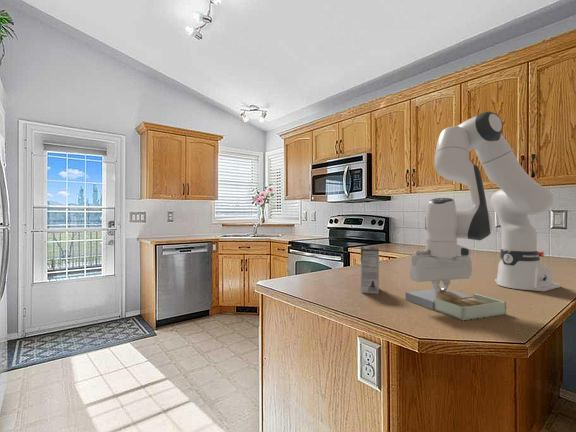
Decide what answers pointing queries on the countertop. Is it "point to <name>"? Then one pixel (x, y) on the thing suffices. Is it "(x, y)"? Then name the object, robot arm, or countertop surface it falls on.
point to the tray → (472, 308)
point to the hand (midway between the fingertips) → (440, 294)
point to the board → (428, 297)
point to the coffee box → (369, 270)
